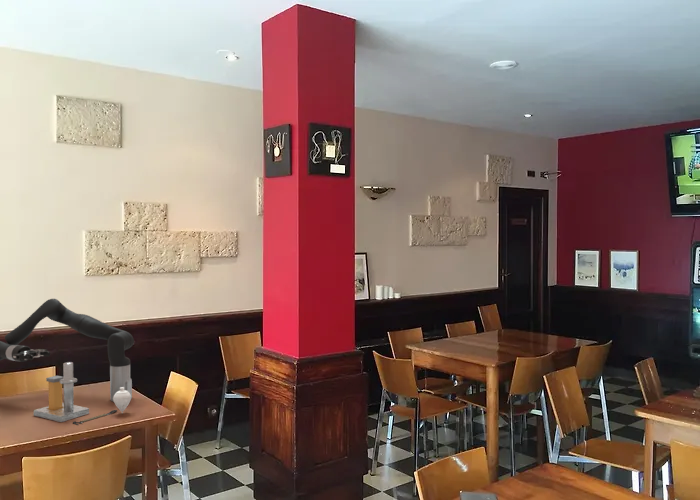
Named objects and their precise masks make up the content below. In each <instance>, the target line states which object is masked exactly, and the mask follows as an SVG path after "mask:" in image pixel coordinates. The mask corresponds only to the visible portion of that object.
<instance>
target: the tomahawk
mask: <svg viewBox="0 0 700 500" xmlns="http://www.w3.org/2000/svg"><path fill="white" fill-rule="evenodd" d="M116 412H118V410H117V409H113V410H110V411H109V412H107V413H103V414H98V415H95V416H92V417H90V418H87V419H84V420H80V421H76V420H75V421H72V425H76V426H80V425H82V424H83V423H86V422H89V421H92V420H96V419H99V418H103V417H106V416H110V415H112V414H113V413H116Z"/></svg>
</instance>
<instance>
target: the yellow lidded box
mask: <svg viewBox="0 0 700 500" xmlns="http://www.w3.org/2000/svg"><path fill="white" fill-rule="evenodd" d="M61 379H63V376H61V375H53V376H50V377H46V379H45V381H46V382H48V384H47V386H48V406H49V410H53V411H54V410H58V409H61V408H62V403H63V384H60V380H61Z"/></svg>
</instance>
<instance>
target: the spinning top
mask: <svg viewBox="0 0 700 500" xmlns="http://www.w3.org/2000/svg"><path fill="white" fill-rule="evenodd" d="M131 400H132V398H131V394H130V393H129V392H128V391H126V390H124V387H121V388H120V391H118V392H116V393H115V395H114V397H113V401H114V402H113V401H112V402H113V404H114V405H115V406H116V408H117V409H118V410H119V411H120V412H121V414H122V415H123V413H124V412H125V410H126V409H127V407H128V405H130V403H131Z"/></svg>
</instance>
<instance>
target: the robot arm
mask: <svg viewBox="0 0 700 500" xmlns="http://www.w3.org/2000/svg"><path fill="white" fill-rule="evenodd" d="M46 318H48V319H50V321H53V322H57V323H59V324H63V325H66V326H68V327H69V328H71V329H72V330H74V331H76V332H77V333H79V334H82V335H85V336H87V337H89V338H95V339H100V340H106V341H107V355H108V356H107V357H108V360H109V377H110V379H109V380H110V381H109V383H110V384H109V385H110V387H109V389H110V391H109V393H110V402H113V403H114V401H113V397H114V395H115V393H116V392H118V391H120V388H121V387H124V390H126V391H128V392H129V393H130V394H131V399H132V398H133V394H132V393H133V388H132V387H133V383H132V382H133V381H132V380H133V379H132V378H131V359H130V358H129V357H127V356H126V355H125V351H126V350H129V349H130V348H132V347H133V345H134V343H135V339H134V337H133V335H132V334H131V333H130V332H128V331H126V330H123V329H120V328H117V327H114V326H112V325H109V324H107V323H105V322H102V321H101V320H100V319H97V318H94V317H92V316H90V315H88V314H83V313H77V312H74V311H72V310H70V309H69V308H67V307H66V306H65V305H63V303H62V302H60V300H58V299H57V298H50V299H48V300H46V301H44V302H43V303H42V304H41V305H40V306H39V307H38V308H37V309H35V311H34V312H32V313H31V315H30V316H29V317H27V318H26V319H25V320H24V321H23V322H22V323H21V324H19V325H17V327H15V328H13V329H12V330H11V331H10V332H8V333H7V334H6V335H4V340H5V341H6V342H4V341H1V340H0V361H2V360H4V359H5V360H9V361H13V362H14V361H15V362H22V363H23V362H25V363H26V362H27V361H33V360H34V358H40V357H46V358H47V357H50V356H51V352H50V351H49V350H48V349H43V348H42V349H41V348H38V349H31V348H30V346H28V345H24V344H23V345H21V344H20V343H21V342H23V341H25V340H26V339H27V338H28V337H29V336H30V335H31V334H32V332H33V331H34V329H35V328H36V327H37V325H38V324H39V323H40V322H41V321H42V320H44V319H46Z"/></svg>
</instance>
